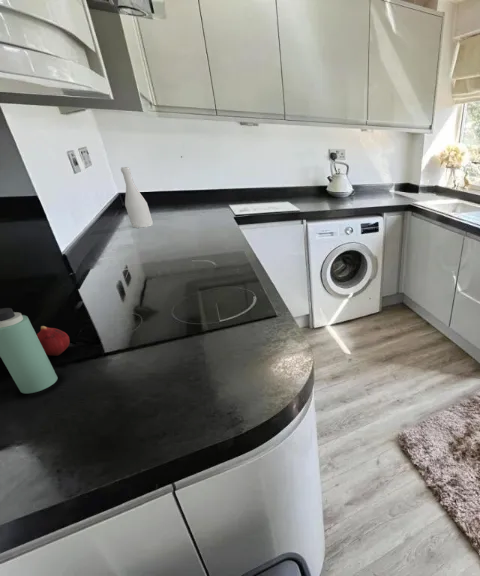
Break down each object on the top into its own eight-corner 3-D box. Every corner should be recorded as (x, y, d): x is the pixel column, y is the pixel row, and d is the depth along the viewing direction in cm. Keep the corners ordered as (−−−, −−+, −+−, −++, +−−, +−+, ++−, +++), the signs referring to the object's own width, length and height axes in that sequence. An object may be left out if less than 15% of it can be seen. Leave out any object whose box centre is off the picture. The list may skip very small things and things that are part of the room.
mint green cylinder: (58, 384, 68) (20, 397, 64) (56, 371, 71) (19, 383, 67) (22, 311, 60) (-24, 322, 57) (22, 301, 64) (-22, 310, 60)
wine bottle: (149, 227, 172) (131, 168, 159) (129, 228, 170) (109, 168, 157) (156, 223, 181) (139, 166, 167) (137, 224, 179) (118, 166, 165)
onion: (79, 345, 80) (66, 317, 76) (67, 360, 75) (52, 331, 71) (50, 349, 78) (35, 321, 74) (35, 364, 73) (18, 335, 69)
